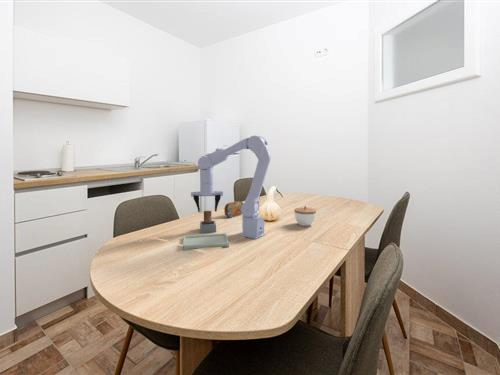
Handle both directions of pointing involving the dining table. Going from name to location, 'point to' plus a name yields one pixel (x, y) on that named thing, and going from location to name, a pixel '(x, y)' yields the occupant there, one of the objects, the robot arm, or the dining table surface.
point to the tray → (205, 241)
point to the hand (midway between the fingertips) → (207, 211)
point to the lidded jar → (305, 216)
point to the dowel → (207, 217)
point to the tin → (233, 209)
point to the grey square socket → (207, 227)
